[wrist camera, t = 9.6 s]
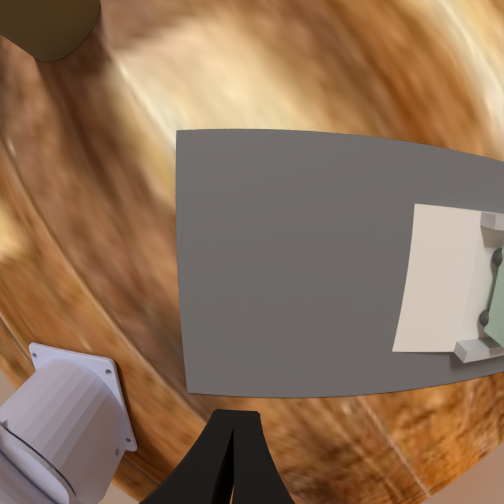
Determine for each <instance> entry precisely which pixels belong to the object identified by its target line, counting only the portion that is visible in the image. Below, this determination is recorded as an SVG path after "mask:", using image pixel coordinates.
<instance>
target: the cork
mask: <svg viewBox="0 0 504 504" xmlns="http://www.w3.org/2000/svg"><path fill="white" fill-rule="evenodd" d="M99 11H100V1H99V0H0V34H1V35H2V36H4V37H5V38H7V39H8V40H10V41H11V42H13V43H14V44H16V45H17V46H19V47H20V48H22V49H23V50H24V51H26V52H27V53H29V54H30V55H32V56H33V57H35V58H36V59H38V60H40V61H42V62H53V61H56V60H58V59H61V58H63V57H65V56H66V55H68V54H69V53H71V52H72V51H74V50H75V49H76V48H77V47H78V46H79V45H80V44H81V43H82V42H83V41H84V40H85V39H86V37H87V36H88V35H89V33H90V32H91V30H92V29H93V28H94V25H95V23H96V21H97V19H98V16H99Z"/></svg>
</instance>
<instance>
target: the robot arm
mask: <svg viewBox="0 0 504 504" xmlns="http://www.w3.org/2000/svg"><path fill="white" fill-rule="evenodd" d="M29 350H30V354H31V357H32V360H33V363H34V366H35V369H36V372H35V373H34V374H33V375H32V376H31V377H30V378H29V379H28V380H27V381H26V382H25V383H24V384H23V385H22V386H21V387H20V388H19V389H18V390H17V391H16V392H15V393H14V394H13V395H12V396H11V397H10V398H9V399H8V400H7V401H6V402H5V403H4V404H3V405H2V406H1V407H0V504H98V503H99V502H100V501H101V500H102V499H103V497H104V496H105V493H106V491H107V489H108V487H109V485H110V483H111V480H112V478H113V476H114V474H115V472H116V470H117V467H118V465H119V463H120V461H121V459H122V457H123V454H124V452H125V450H129V451H136V450H137V448H138V446H137V443H136V440H135V437H134V433H133V430H132V427H131V423H130V420H129V416H128V413H127V409H126V406H125V402H124V398H123V394H122V390H121V386H120V382H119V378H118V373H117V369H116V365H115V362H114V361H113V360H112V359H110V358H106V357H100V356H94V355H89V354H84V353H78V352H73V351H68V350H64V349H59V348H55V347H50V346H46V345H42V344H37V343H31V344H30V345H29ZM108 370H110V371H111V372H112V373H111V372H110V371H108ZM233 485H234V490H233ZM232 490H233V498H232V504H295V503H294V501H293V500H292V498H291V496H290V495H289V493H288V491H287V489H286V487H285V485H284V483H283V482H282V480H281V478H280V476H279V474H278V471H277V469H276V467H275V465H274V462H273V460H272V457H271V455H270V452H269V450H268V447H267V444H266V441H265V437H264V434H263V430H262V425H261V419H260V414H259V413H258V412H257V411H239V410H223V409H216V410H215V411H213V413H212V415H211V417H210V419H209V421H208V423H207V425H206V426H205V428H204V430H203V431H202V433H201V434H200V436H199V437H198V439H197V441H196V442H195V443H194V445H193V446H192V447H191V449H190V450H189V452H188V453H187V454H186V456H185V457H184V458H183V460H182V461H181V462H180V463H179V464H178V465H177V467H176V468H175V469H174V470H173V471H172V472H171V474H170V475H169V476H168V477H167V478H166V479H165V480H164V481H163V482H162V483H161V484H160V485H159V486H158V487H157V488H156V489H155V490H154V491H153V492H152V493H151V494H150V495H149V496H148V497H146V498H145V499H144V500H143V501H142V502H140V503H139V504H230V499H231V495H232Z"/></svg>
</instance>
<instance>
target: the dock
mask: <svg viewBox="0 0 504 504" xmlns="http://www.w3.org/2000/svg"><path fill="white" fill-rule="evenodd" d="M176 237H177V264H178V285H179V302H180V316H181V329H182V341H183V353H184V363H185V373H186V382H187V391H188V392H189V393H199V394H211V395H225V396H243V397H278V398H298V397H333V396H351V395H364V394H376V393H386V392H395V391H403V390H411V389H418V388H425V387H431V386H437V385H443V384H449V383H454V382H459V381H464V380H469V379H474V378H478V377H483V376H487V375H491V374H495V373H499V372H503V371H504V348H503V347H502V346H501V345H500V344H499V343H498V342H496V341H495V340H494V339H493V338H492V337H490V336H489V335H488V334H487V333H486V332H485V331H484V328H485V327H483V326H482V325H481V324H480V321H479V317H480V314H481V312H482V311H483V310H485V309H490V306H491V302H492V298H493V294H494V289H495V285H496V280H497V275H498V270H499V267H497V266H495V264H494V263H493V260H492V256H493V253H494V251H495V250H496V249H498V248H502V247H504V162H502V161H498V160H494V159H490V158H486V157H482V156H478V155H474V154H469V153H465V152H460V151H455V150H450V149H445V148H440V147H435V146H430V145H424V144H418V143H412V142H406V141H399V140H392V139H385V138H377V137H369V136H360V135H351V134H340V133H329V132H315V131H299V130H276V129H201V130H178V131H177V134H176Z"/></svg>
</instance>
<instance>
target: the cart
mask: <svg viewBox="0 0 504 504" xmlns="http://www.w3.org/2000/svg"><path fill="white" fill-rule="evenodd" d="M492 260H493V263H494V264H495V266H497V267H499V270H498V275H497V280H496V285H495V289H494V294H493V298H492V302H491V306H490V309H485V310H483V311H482V312H481V314H480V317H479V321H480V324H481V325H482V326H483V327H485V328H484V331H485V332H486V333H487V334H488V335H489V336H490V337H492V338H493V339H494V340H495V341H496V342H498V343H499V344H500V345H501V346H502V347H503V348H504V247H502V248H498V249H496V250H495V251H494V253H493V256H492Z"/></svg>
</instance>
